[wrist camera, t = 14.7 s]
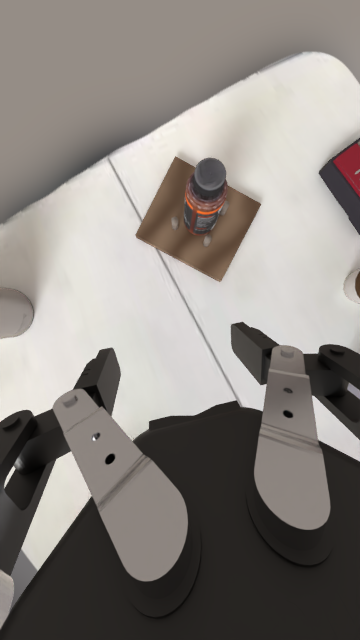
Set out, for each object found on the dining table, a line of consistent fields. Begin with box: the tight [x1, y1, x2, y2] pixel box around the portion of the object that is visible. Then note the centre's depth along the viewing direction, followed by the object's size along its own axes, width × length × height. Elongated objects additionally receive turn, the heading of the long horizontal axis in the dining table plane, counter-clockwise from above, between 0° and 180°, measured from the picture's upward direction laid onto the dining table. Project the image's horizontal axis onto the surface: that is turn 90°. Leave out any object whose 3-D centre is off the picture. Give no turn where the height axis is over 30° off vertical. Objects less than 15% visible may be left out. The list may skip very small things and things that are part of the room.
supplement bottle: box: [184, 158, 228, 236], centre depth 28 cm, size 6×6×11 cm
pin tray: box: [136, 156, 261, 282], centre depth 33 cm, size 18×16×4 cm
